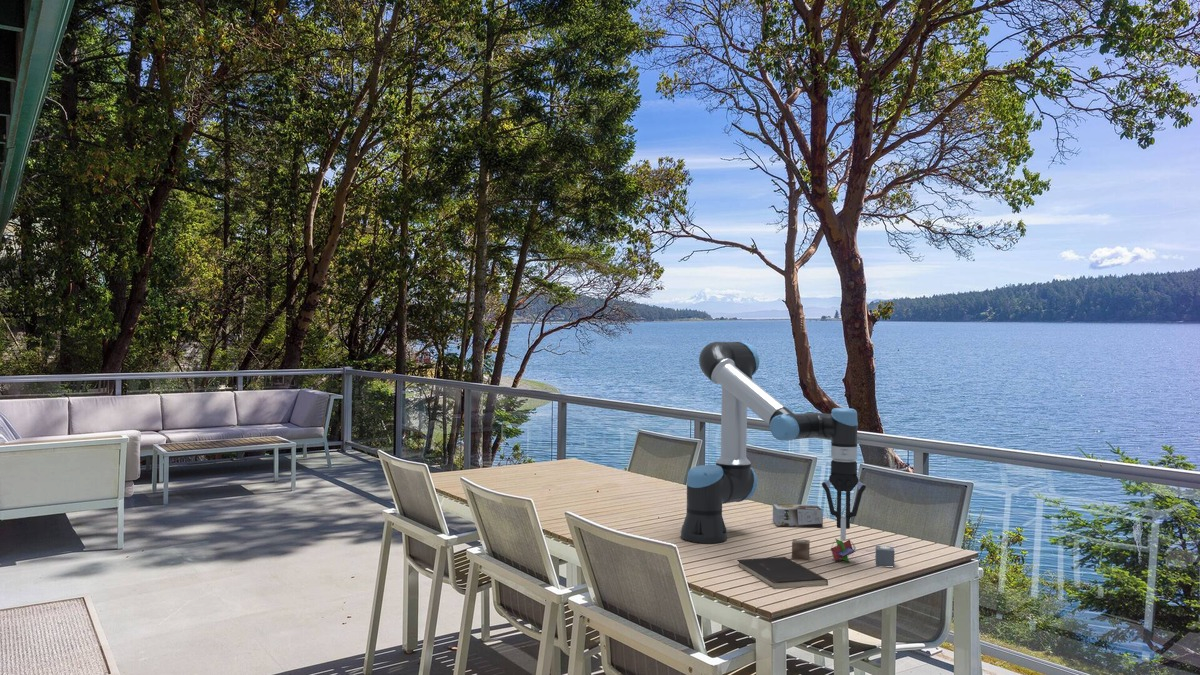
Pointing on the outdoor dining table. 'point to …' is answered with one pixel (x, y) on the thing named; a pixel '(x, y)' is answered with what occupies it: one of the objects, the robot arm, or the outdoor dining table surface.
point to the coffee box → (797, 515)
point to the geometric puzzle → (842, 550)
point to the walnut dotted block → (800, 549)
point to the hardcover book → (781, 572)
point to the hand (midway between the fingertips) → (843, 539)
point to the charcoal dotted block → (884, 556)
